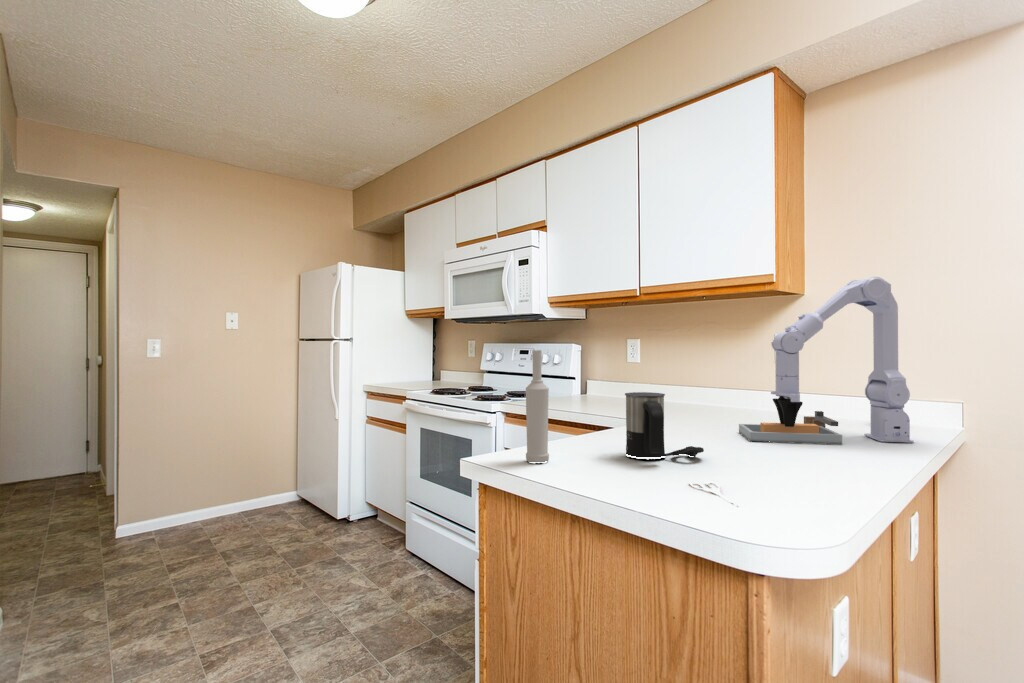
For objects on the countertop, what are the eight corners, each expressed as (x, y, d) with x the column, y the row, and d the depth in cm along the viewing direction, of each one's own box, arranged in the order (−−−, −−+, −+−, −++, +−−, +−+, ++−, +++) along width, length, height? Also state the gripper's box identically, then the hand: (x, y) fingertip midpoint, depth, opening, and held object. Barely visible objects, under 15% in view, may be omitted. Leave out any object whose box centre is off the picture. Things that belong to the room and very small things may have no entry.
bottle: (541, 465, 114) (541, 350, 114) (521, 462, 117) (521, 350, 117) (552, 460, 118) (552, 350, 118) (533, 458, 121) (532, 350, 121)
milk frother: (617, 454, 125) (616, 392, 125) (671, 449, 131) (671, 389, 130) (653, 468, 112) (653, 398, 112) (712, 461, 117) (712, 395, 117)
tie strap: (838, 426, 142) (838, 417, 142) (830, 425, 142) (830, 417, 142) (821, 419, 154) (821, 411, 154) (814, 419, 154) (814, 411, 154)
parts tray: (842, 444, 135) (842, 435, 135) (750, 441, 139) (750, 432, 139) (821, 435, 148) (821, 426, 148) (738, 432, 153) (738, 423, 153)
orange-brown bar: (819, 436, 142) (819, 425, 142) (764, 435, 145) (763, 424, 145) (814, 434, 146) (814, 423, 146) (760, 433, 148) (760, 422, 148)
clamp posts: (825, 432, 152) (825, 421, 152) (814, 432, 153) (814, 420, 153) (814, 427, 161) (814, 416, 161) (803, 427, 162) (803, 416, 162)
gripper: (764, 373, 152) (764, 420, 152) (779, 377, 137) (779, 429, 138) (790, 374, 150) (790, 421, 150) (808, 377, 136) (808, 430, 136)
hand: (787, 425), depth 144 cm, fingers open, 3 cm apart
